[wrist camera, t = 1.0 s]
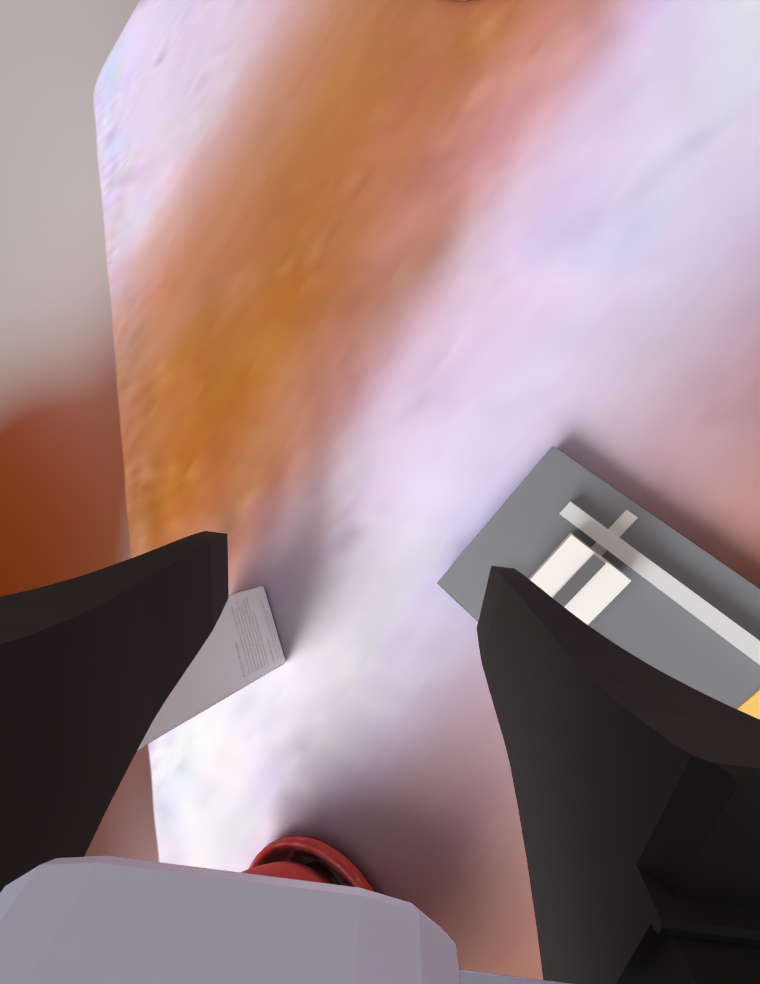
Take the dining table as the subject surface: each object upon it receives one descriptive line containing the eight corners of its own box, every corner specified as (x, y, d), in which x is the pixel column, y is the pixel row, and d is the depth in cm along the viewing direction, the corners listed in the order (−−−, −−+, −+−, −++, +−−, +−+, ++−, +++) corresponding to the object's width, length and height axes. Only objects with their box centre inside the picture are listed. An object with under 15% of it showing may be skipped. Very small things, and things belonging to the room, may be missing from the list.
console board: (923, 706, 17) (979, 737, 15) (734, 848, 19) (757, 894, 17) (553, 449, 23) (552, 442, 21) (443, 579, 25) (431, 585, 23)
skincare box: (226, 599, 33) (52, 644, 21) (268, 582, 31) (104, 621, 20) (247, 678, 31) (74, 768, 20) (292, 664, 30) (131, 754, 19)
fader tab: (624, 573, 20) (632, 581, 17) (567, 631, 21) (567, 646, 18) (570, 532, 21) (571, 534, 18) (518, 589, 22) (513, 598, 19)
